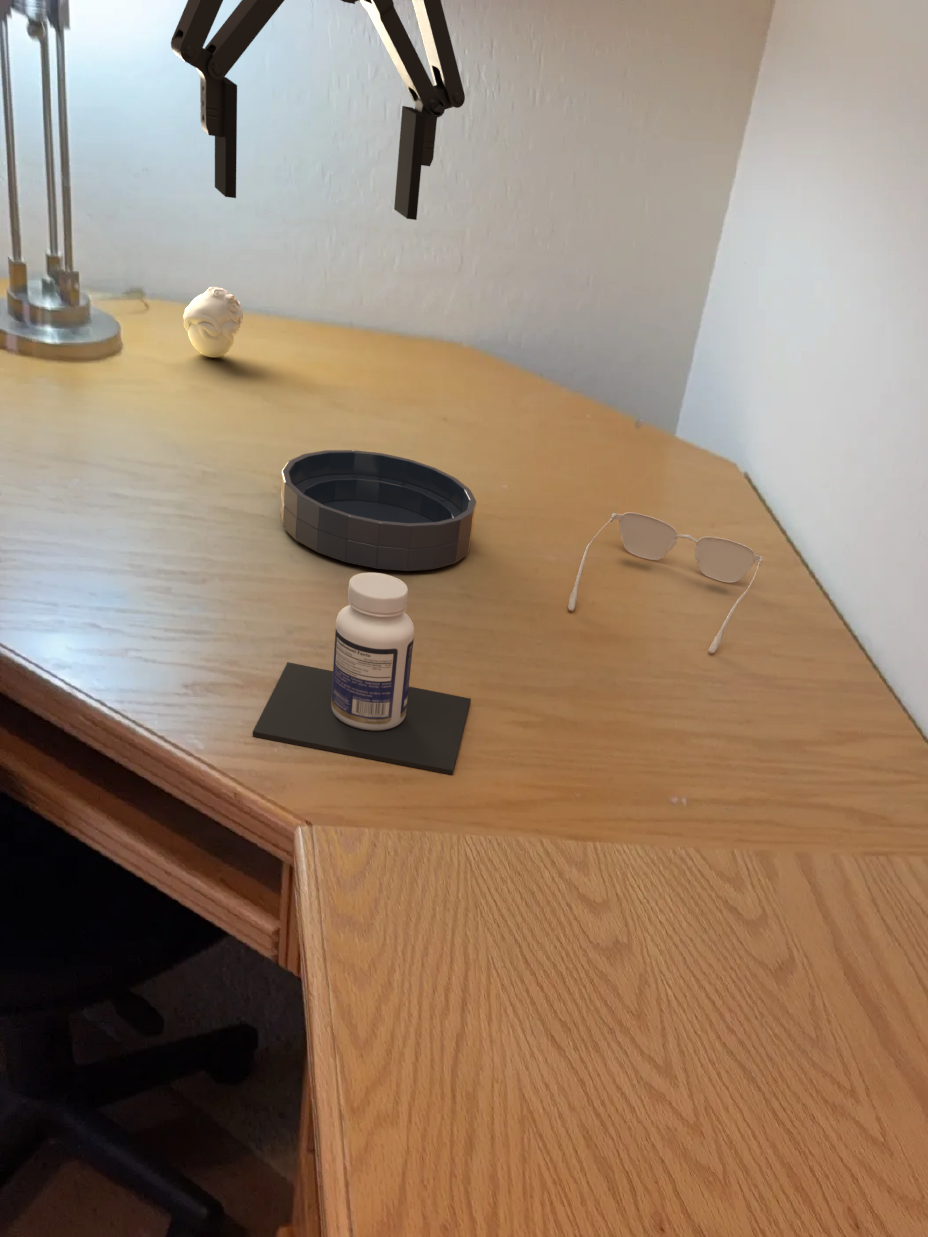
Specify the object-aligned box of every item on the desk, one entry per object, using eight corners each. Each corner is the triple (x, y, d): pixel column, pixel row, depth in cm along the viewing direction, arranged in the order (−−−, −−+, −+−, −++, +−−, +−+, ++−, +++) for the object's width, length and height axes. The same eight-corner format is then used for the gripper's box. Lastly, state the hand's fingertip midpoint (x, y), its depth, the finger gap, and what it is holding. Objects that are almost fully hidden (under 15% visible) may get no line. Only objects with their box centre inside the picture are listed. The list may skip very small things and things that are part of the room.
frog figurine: (254, 362, 149) (255, 295, 144) (205, 367, 144) (205, 298, 139) (219, 345, 151) (219, 279, 146) (170, 349, 146) (169, 281, 142)
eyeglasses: (754, 590, 126) (766, 550, 124) (722, 659, 113) (734, 616, 110) (606, 546, 127) (615, 505, 125) (557, 609, 114) (565, 565, 111)
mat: (252, 736, 88) (252, 731, 88) (287, 666, 97) (287, 661, 96) (452, 775, 90) (453, 770, 90) (470, 703, 98) (471, 698, 98)
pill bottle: (366, 688, 96) (376, 561, 89) (420, 718, 94) (435, 591, 88) (314, 709, 92) (321, 577, 86) (369, 740, 90) (381, 609, 84)
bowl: (261, 550, 111) (262, 498, 108) (303, 484, 124) (305, 436, 121) (457, 591, 113) (463, 541, 110) (478, 522, 126) (484, 475, 123)
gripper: (145, -244, 72) (156, 196, 86) (540, -137, 83) (493, 236, 97) (114, -251, 76) (129, 169, 90) (493, -149, 88) (454, 210, 102)
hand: (318, 205), depth 94 cm, fingers open, 13 cm apart
